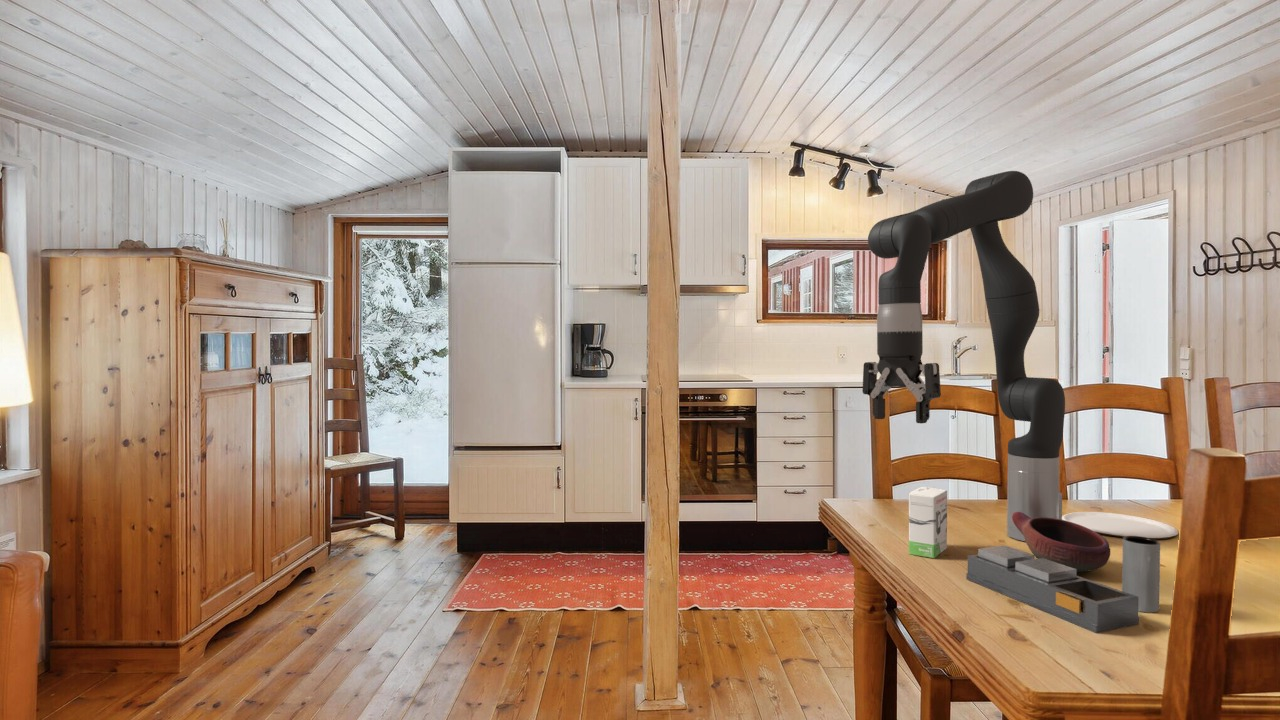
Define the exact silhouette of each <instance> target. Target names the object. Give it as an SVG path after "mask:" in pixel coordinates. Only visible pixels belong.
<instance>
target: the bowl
mask: <svg viewBox="0 0 1280 720" xmlns="http://www.w3.org/2000/svg"><path fill="white" fill-rule="evenodd" d="M1012 520H1013V523H1014V524H1015V526H1016V527H1017V528H1018V529H1019V531H1020V532H1021V533H1022V534H1023V536H1024V538H1025V541H1024V542H1025V543H1026V545H1027V547H1028V549H1029V550H1030V552H1031V554H1032V555H1034V558H1035V557H1036V559H1039V558H1044V559H1047V560H1050V561H1053V562H1056V563H1059V564H1062V565H1065V566H1068V567H1071V568H1074V569H1077V571H1076V573H1083V572H1091V571H1095V570H1098V569H1101V568H1103V567H1104V566H1105V565H1106V564H1107V563H1108V562H1109V561H1110V557H1111V547H1110V544H1109V541H1107V539H1106V537H1104V536H1103V535H1102V534H1098V533H1096V532H1094V531H1092V530H1090V529H1088V528H1086V527H1084V526H1081V525H1079V524H1075V523H1072V522H1069V521H1065V520H1061V519H1056V518H1048V517H1037V518H1030V517H1028V516H1027V515H1025V514H1024V513H1022V512H1015V513H1013V516H1012Z"/></svg>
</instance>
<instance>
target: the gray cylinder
mask: <svg viewBox="0 0 1280 720" xmlns="http://www.w3.org/2000/svg"><path fill="white" fill-rule="evenodd" d="M1121 568H1122V575H1121V576H1122V577H1121V579H1122V581H1121V582H1122V583H1121V584H1122V585H1121V591H1123V592H1126V593H1129V594H1132V595H1135V596H1138V612H1141V613H1157V612H1159V611H1160V593H1161V591H1160V589H1161V588H1160V579H1161V578H1160V577H1161V542H1160V541H1159V540H1158V539H1151V538H1146V537H1140V536H1125V537H1123V538H1122V567H1121Z"/></svg>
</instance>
